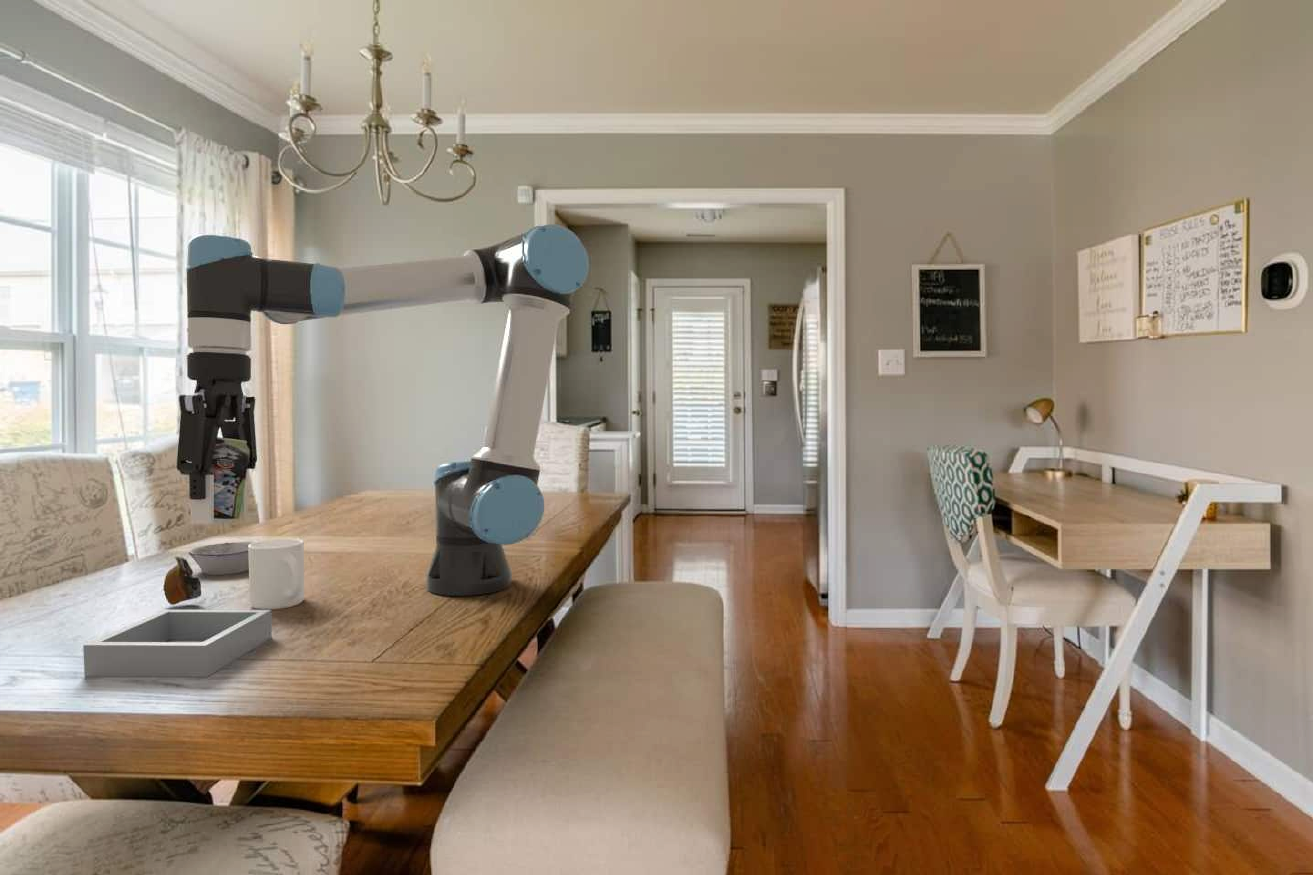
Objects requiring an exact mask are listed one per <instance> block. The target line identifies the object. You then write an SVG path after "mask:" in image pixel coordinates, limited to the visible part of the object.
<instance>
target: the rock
mask: <svg viewBox="0 0 1313 875" xmlns="http://www.w3.org/2000/svg"><path fill="white" fill-rule="evenodd" d="M174 559H175V560H176V562H177V564H176V565H175V566H174V567H173V568H171V569H169V571H167V573H166V575H165V578H164V581H163V582H164V584H163V592H164V596H165V599H166V600H167V602H168V604H170V605H172V606H173V605H174V606H175V605H176V604H180V603H182V602H185V601H189V600H194V599H198V598H200V597H201V596H202V583H201V580H200V579H199V578H198V577H196V576H195V577H194V576H193V574H194V571H193V569H192V567H191V565H190V564H189V562H188V560H187V559H186V558H185V559H184V557H183V556H174Z"/></svg>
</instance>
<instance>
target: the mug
mask: <svg viewBox="0 0 1313 875" xmlns="http://www.w3.org/2000/svg"><path fill="white" fill-rule="evenodd" d="M254 542H255V541H254ZM304 551H305V550H304V540H303V539H297V538H274V539H265V540H260V541H256V542H255V543H252V544H250V545H249V546H248V553H249V570H248V579H249V580H248V581H249V602H250V605H251V607H252V608H254V609H255V610H271V611H272V610H280V609H286V608H287V609H288V608H291V607H295V606H297V605H299V604H301V603H302V602H303V601H305V596H306V595H305V593H306V589H305V587H306V586H305V582H306V581H305V555H304V554H305V553H304Z"/></svg>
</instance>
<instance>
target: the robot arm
mask: <svg viewBox="0 0 1313 875" xmlns="http://www.w3.org/2000/svg"><path fill="white" fill-rule="evenodd" d="M581 241H582V240H581V239H580V238H579V237H578V236H577V235H576V234H575V233H574V232H573V231H572V230H571V229H569V228H566V227H564V226H563V225H559V224H551V223H550V224H544V225H537V226H534V227H532V228H530V229H529V230H527V231H525V232H523V233H520V234H519V235H516V236H514V237H511V238H508V239H506V240H504V241H502V242H498V243H497V244H494V245H491V246H487V247H484V248H483V247H482V248H478V249H469V250H466V251H465V252H464V253H463V255H462V256H457V257H448V258H447V257H446V258H438V259H437V258H435V259H426V260H414V261H408V262H407V261H404V262H395V263H383V264H374V265H373V264H372V265H366V266H352V267H343V268H338V267H335V266H329V265H325V264H320V263H318V262H317V263H316V262H315V263H310V262H300V261H298V262H297V261H290V260H283V259H282V260H281V259H273V258H270V259H269V258H264V257H260V256H255V255H253V254H254V253H253V252H252V247H251V244H250V243H249V242H248V241H246V240H244V239H242V238H238V237H231V236H228V235H220V234H199V235H195V236H193V237H192V238H191V239H190V240H189V241H188V243H187V244H188V245H187V246H188V247H187V256H186V257H187V259H186V260H187V261H186V305H187V306H186V310H187V315H186V316H187V328H186V332H187V347H188V348H189V349H192V351H191V352H189V353H188V354H187V355H186V360H187V362H186V376H187V379H189V380H191V381H195V382H196V385H195V389H194V393H190V394H184V393H183V394H180V395H179V397H178V401H179V408H180V416H179V418H180V419H179V420H180V421H179V429H178V431H179V432H178V447H177V454H176V456H177V457H176V469H177V471H179V472H180V475H183V476H184V475H188V478H189V479H188V480H189V481H188V482H189V489H188V490H189V509H190V515H189V524H190V525H214V524H215V523H214V475H208V474H209V471H210V466H211V462H212V458H213V453H214V449H215V444H216V440H217V437H219V436H218V435H219V430H220V432H221V435H222V436H221V438H228V439H236V440H244V441H247V443H246V444H247V446H248V448H249V450H250V454H249V461H248V467H247V470H254V469H256V463H257V461H258V454H257V452H258V451H257V439H256V438H257V436H256V424H255V409H256V407H255V406H256V397H255V396H253V395H244V391H243V388H242V383H246V382H249V381H251V379H252V358H251V357H250V355H248V354H247V352H250V351H251V350H252V332H251V331H252V330H251V328H252V327H251V325H252V324H251V323H252V317H251V314H252V312H258V313H262V315H263V316H265V318H267V319H268V320H270V321H271V322H274V323H276V324H280V325H292V324H297V323H298V322H303V321H310V320H319V319H320V320H321V319H324V318H325V319H326V318H337V317H340V316H348V315H355V314H363V313H371V312H379V311H385V310H394V309H402V308H410V307H411V308H412V307H419V306H427V305H434V304H435V305H436V304H441V303H450V302H451V303H452V302H458V301H465V300H469V301H471V302H472V303H474V304H475V305H480V304H488V303H504V304H505V306H506V307H507V309H508V315H507V321H506V325H505V329H504V335H503V340H502V347H501V350H500V351H501V352H500V355H499V356H500V357H499V362H498V367H497V372H496V378H495V383H494V387H493V393H492V398H491V399H492V400H491V404H490V410H489V414H488V417H487V418H488V419H487V424H486V430H485V435H484V440H483V446H482V448H480V450H479V451H477V452H476V453H475V454H473V455H472V456H471V459H470V460H469V461H468V460H467V461H458V462H457V461H456V462H445V463H442V464H439V465H438V466H437V467H436V469H435V479H434V480H433V481H434V482H433V485H434V488H435V489H434V491H435V492H434V493H435V544H436V545H435V550H434V552H433V556H432V558H431V562H430V566H429V568H428V572H427V575H426V589H427V591H429V592H430V593H432V594H436V595H441V596H452V597H453V596H454V597H467V596H468V597H469V596H479V595H488V594H493V593H496V592H500V591H502V590H503V591H504V590H505V589H507V588H509V587H510V586H511V585H512V571H511V567H510V565H509V561H508V559H507V557H506V553H505V551H504V548H503V546H504V545H506V546H508V545H509V546H510V545H514V544H517V543H520V542H522V541H524V540H525V539H526V538H528V537H529V536H531V535H532V534H533V533H534V532H535V531H536V530H537V528H538V527H539V525H540V524H541V521H542V519H543V515H544V513H545V512H544V511H545V499H544V495H543V493H542V491H541V489H540V487H539V486H538V484H539V477H540V473H541V467H540V465H539V463H537V461H536V459H535V450H536V445H537V444H536V443H537V438H538V434H539V428H540V425H541V424H540V423H541V418H542V412H543V407H544V402H545V397H546V391H547V386H548V381H549V376H550V370H551V365H552V360H553V355H554V349H555V343H556V338H557V332H558V328H559V323H560V321H561V320H562V319H563V318H565V317H566V316H568V315H569V314H570V311H571V305H572V302H573V296H574V292H576V291H577V290H579V289H580V288H581V287H582V286H583V284H584V283H585V281H586V280H587V278H588V274H589V270H590V268H589V267H590V262H589V256H588V252H587V250H586V248H585V246H584V244H583V243H582V242H581ZM201 463H202V465H201ZM240 516H241V517H242V516H244V517H245V516H248V472H247V473H246V480H245V486H244V492H243V498H242V505H241V511H240Z"/></svg>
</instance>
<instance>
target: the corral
mask: <svg viewBox="0 0 1313 875" xmlns="http://www.w3.org/2000/svg"><path fill="white" fill-rule="evenodd" d="M272 635H273V634H272V610H262V609H164V610H161V611H159V612H156V613H154V614H152V615H150V616H148V617H145V618H143V619H141V620H138V621H136V622H133V623H131V624H128V625H126V626H124V627H122V628H120V629H117V630H115V631H112V632H111V633H108V634H106V635H103V636H101V637H99V638H96V639H94V640H92V641H90V642H88V643H84V644H82V645H83V646H82V649H83V650H82V652H83V669H84V670H83V671H84V677H86V678H87V677H88V678H90V677H92V678H93V677H96V678H97V677H98V678H99V677H100V678H101V677H104V678H105V677H108V678H109V677H110V678H111V677H113V678H114V677H115V678H117V677H118V678H119V677H120V678H121V677H126V678H128V677H132V678H137V677H138V678H144V677H145V678H208V677H209V676H211V675H212V674H214V673H216V672H218V671H220V670H221V669H222V668H224V667H226V666H227V665H229V664H231V663H232V662H234V661H235V660H236V659H239V658H240V657H242V656H243V655H245V654H247V653H249V652H250V651H251V650H253V649H255V648H257V647H258V646H260V645H261V644H263V643H264V642H266V641H268V640H269V639H271V638H272V637H273V636H272ZM169 640H172V641H169ZM167 641H169V642H167Z"/></svg>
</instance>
